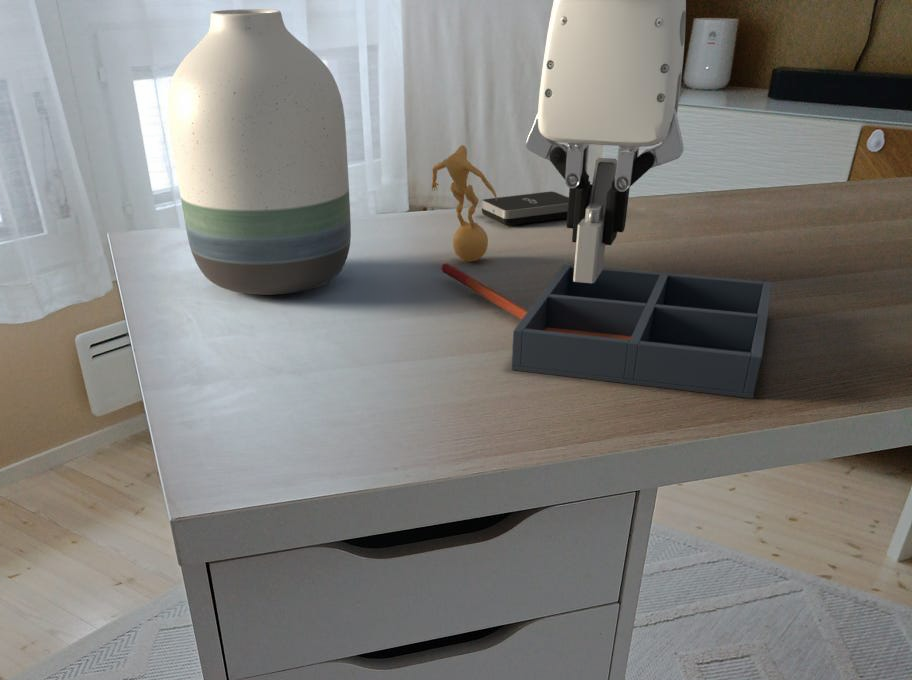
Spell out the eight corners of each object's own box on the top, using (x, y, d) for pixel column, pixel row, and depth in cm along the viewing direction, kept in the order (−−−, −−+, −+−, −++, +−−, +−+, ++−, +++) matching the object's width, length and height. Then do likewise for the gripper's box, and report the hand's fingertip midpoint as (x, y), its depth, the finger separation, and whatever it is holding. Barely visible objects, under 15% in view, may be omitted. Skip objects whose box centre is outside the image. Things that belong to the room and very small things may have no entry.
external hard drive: (579, 218, 118) (580, 202, 117) (503, 228, 115) (504, 211, 114) (551, 207, 123) (552, 191, 122) (478, 216, 120) (479, 199, 119)
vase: (322, 252, 107) (303, 3, 92) (378, 293, 95) (366, 13, 80) (178, 271, 101) (133, 9, 87) (219, 317, 89) (174, 21, 74)
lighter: (593, 283, 74) (604, 174, 69) (572, 281, 74) (582, 172, 69) (609, 259, 79) (620, 156, 74) (589, 257, 79) (599, 154, 74)
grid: (764, 318, 88) (772, 282, 86) (752, 398, 73) (762, 357, 71) (561, 298, 93) (563, 263, 91) (511, 370, 78) (513, 330, 76)
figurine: (510, 262, 103) (515, 143, 96) (481, 275, 99) (484, 153, 92) (449, 251, 107) (450, 135, 100) (419, 263, 103) (417, 144, 96)
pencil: (439, 265, 97) (446, 260, 97) (442, 274, 98) (449, 268, 98) (540, 326, 84) (549, 319, 84) (544, 335, 85) (552, 329, 85)
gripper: (742, -41, 64) (697, 235, 76) (524, -42, 68) (512, 221, 80) (735, -38, 59) (687, 260, 70) (498, -39, 63) (489, 243, 74)
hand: (594, 237), depth 75 cm, fingers closed on lighter, 1 cm apart
